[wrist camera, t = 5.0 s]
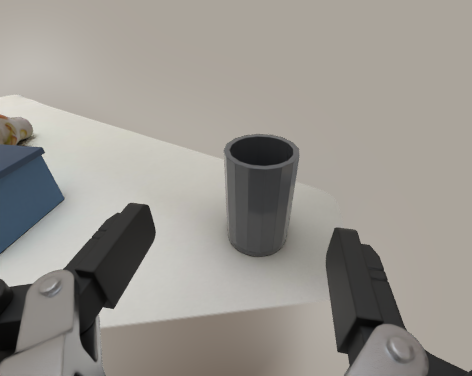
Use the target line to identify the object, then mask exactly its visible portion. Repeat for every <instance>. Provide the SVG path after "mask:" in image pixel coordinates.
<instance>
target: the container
mask: <svg viewBox="0 0 472 376" xmlns="http://www.w3.org/2000/svg"><path fill="white" fill-rule="evenodd" d="M44 153H45V152H44V150H43V148H42V147H29V146H17V145H4V144H0V253H1V252H2V251H4V250H5V249H6V248H7V247H8V246H10V245H11V244H12V243H13V242H14V241H15V240H17V239H18V238H19V237H20V236H21V235H23V234H24V233H25V232H26V231H27V230H28V229H30V228H31V227H32V226H33V225H34V224H35V223H37V222H38V221H39V220H40V219H41V218H43V217H44V216H45V215H46V214H47V213H48V212H50V211H51V210H52V209H53V208H54V207H55V206H57V205H58V204H59V203H60V202H61V201H63V200H64V197H63V195H62V193H61V191H60V189H59V187H58V185H57V184H56V182H55V180H54V178H53V176H52V174H51V172H50V170H49V169H48V167H47V165H46V163H45V161H44V159H43V157H42V156H41V155H42V154H44Z"/></svg>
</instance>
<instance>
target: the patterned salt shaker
mask: <svg viewBox="0 0 472 376" xmlns="http://www.w3.org/2000/svg"><path fill="white" fill-rule="evenodd" d="M32 134H33V128H32V125H31V124H30V122H29V121H28V120H26V119H24V118H20V117H15V118H9V117H6V116H3V115H0V144H4V145H16V144H17V143H18V142H19V141H20V140H22V139H26V138H29V137H30V136H31V135H32Z"/></svg>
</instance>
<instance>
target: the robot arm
mask: <svg viewBox="0 0 472 376" xmlns="http://www.w3.org/2000/svg"><path fill="white" fill-rule="evenodd" d="M155 233H156V231H155V226H154V222H153V218H152V215H151V211H150V208H149V206H148V205H145V204H137V203H129V204H128V205H127V206H126V207H125V208H124V210H123V211H122V212H121V213H116V214H115V215H113V216H112V217H110V218H109V219H107V220H106V221H105V222H104V223H103V225H102V226H101V227H100V228H99V230H98V231H96V233H95V234H94V235H93V236H92V239H89V241H88V242H87V243H86V244H85V245H84V246H83V247H82V249H81V250H80V251H79V252H78V253H77V254H76V255H75V257H74V258H73V259H72V260H71V261H70V262H69V263H68V265H67V266H66V267H65V268H64V269H63V270H56V271H52V272H50V273H47V274H45V275H44V276H42V277H40V278H39V279H38V280H37V281H35V282H34V283H33V284H27V285H20V286H13V287H9V286H8V285H7V284H6V283H5V282H4V281H3V280H2V279H0V376H106V375H105V372H104V369H103V363H102V349H101V333H100V318H99V315H98V314H99V312H100V311H101V309H102V308H103V307H105V308H111V309H114V308H115V306H116V304H117V303H118V301H119V299H120V297H121V296H122V294H123V292H124V291H125V289H126V287H127V286H128V284H129V282H130V281H131V279H132V277H133V275H134V274H135V272H136V270H137V269H138V267H139V265H140V264H141V262H142V260H143V259H144V257H145V255H146V253H147V252H148V250H149V248H150V247H151V245H152V243H153V241H154V239H155ZM326 271H327V278H328V286H329V293H330V300H331V307H332V315H333V322H334V329H335V337H336V344H337V351H338V352H340V353H345V354H348V358H349V364H350V366H349V368H348V370H347V371H346V373H345V374H344V376H472V370H471V371H469V372H467V371H465V370H463V369H461V368H459V367H457V366H454V365H452V364H450V363H448V362H446V361H444V360H442V359H440V358H437V357H436V356H434V355H432V354H430V353H429V352H427V351H426V350H424V348H423V347H422V345H421V344H420V343H419V341H418V340H417V339H416V338H415V337H414V336H413V335H412V334H410V333H409V332H408V331H407V330H406V328H405V326H404V324H403V321H402V318H401V315H400V313H399V310H398V307H397V305H396V301H395V299H394V296H393V294H392V290H391V288H390V285H389V282H387V277H386V274H385V272H384V268H383V265H382V263H381V260H380V257H379V256H378V254H377V253H376V252H375V251H374V250H373V248H372V247H371V246H370V245H365V244H361V243H360V239H359V236H358V233H357V231H356V230H353V229H344V228H335V229H334V232H333V235H332V238H331V241H330V244H329V247H328V251H327V254H326Z"/></svg>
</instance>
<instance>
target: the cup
mask: <svg viewBox="0 0 472 376" xmlns="http://www.w3.org/2000/svg"><path fill="white" fill-rule="evenodd" d="M298 161H299V148H298V147H297V146H296V145H295V144H294V143H293V142H291V141H289V140H287V139H285V138H282V137H278V136H273V135H264V134H254V135H246V136H242V137H238V138H235V139H233V140H232V141H230V142H229V143H227V144H226V147H225V149H224V168H225V189H226V210H227V230H228V237H229V240H230V242H231V244H232V245H233V246H234V247H235V248H236V249H237V250H238V251H240V252H242V253H244V254H247V255H251V256H267V255H270V254H273V253H275V252H277V251H278V250H280V249H281V248H282V246H283V245H284V243H285V241H286V237H287V232H288V226H289V219H290V213H291V206H292V200H293V194H294V187H295V181H296V174H297V167H298Z"/></svg>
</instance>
